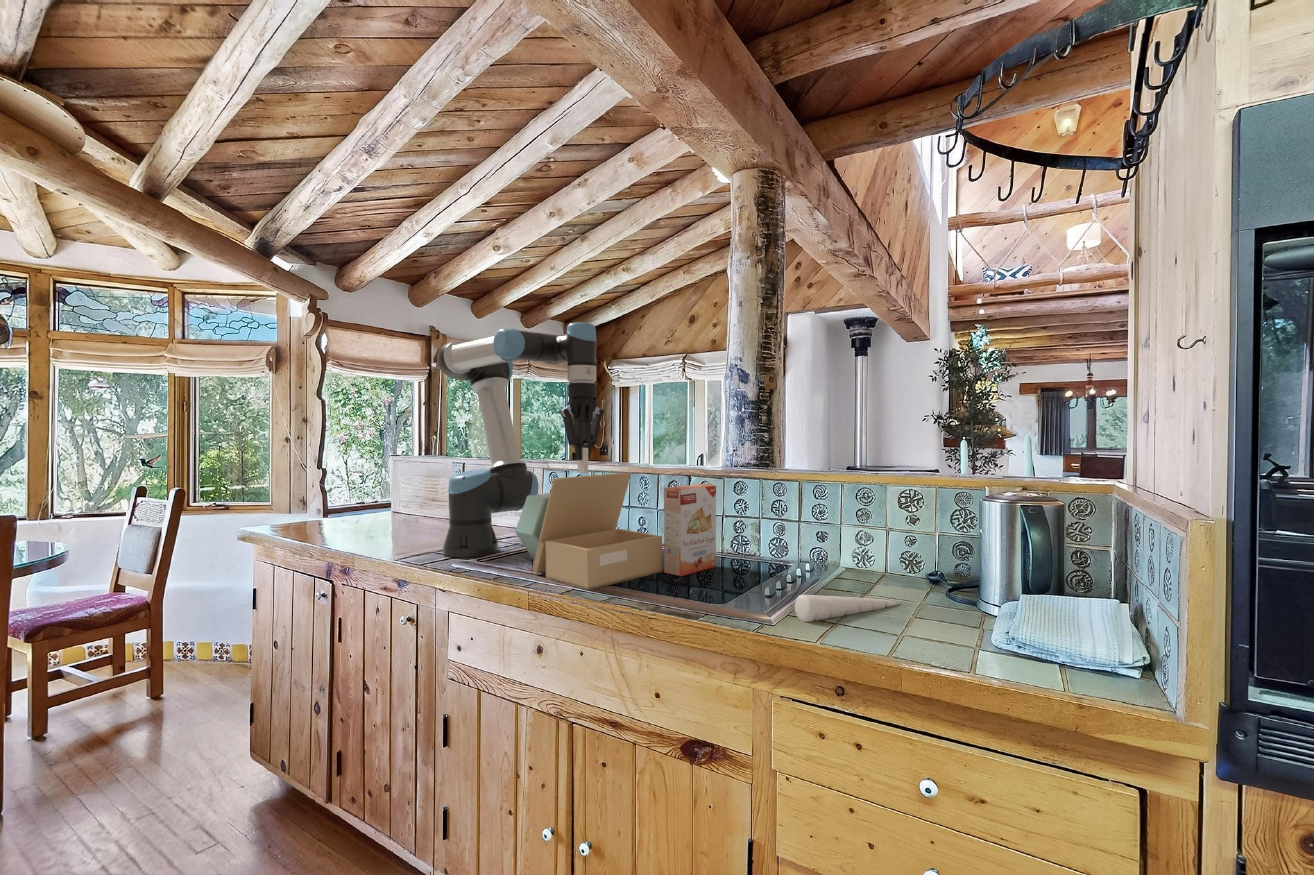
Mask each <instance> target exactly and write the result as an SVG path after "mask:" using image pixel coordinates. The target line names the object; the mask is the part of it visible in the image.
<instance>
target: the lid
mask: <svg viewBox="0 0 1314 875" xmlns="http://www.w3.org/2000/svg"><path fill="white" fill-rule="evenodd" d="M631 475H632V473H631V472H629V471H628V472H619V473H605V474H592V475H591V474H589V475H580V476H578V475H577V476H568V477H555V478H553V480H552V484H551V488H550V492H549V493H550V496H549V500H548V504H547V508H546V513H545V517H544V521H543V525H542V529H541V534H540V538H539V542H538V546H537V551H536V555H535V559H533V564H532V568H531V570H532V571H533V572H534V573H535V574H536V575H537V574H543V573H546V543H545V541H548V540H554V539H560V538H566V537H572V536H578V535H584V534H590V533H597V532H603V531H609V530H615V529H617V527H618V526H617V525H618V522H619V519H620V516H621V512H622V507H623V505H624V502H625V501H624V500H625V496H626V494H627V490H628V486H629V483H630V479H631Z"/></svg>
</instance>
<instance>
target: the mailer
mask: <svg viewBox="0 0 1314 875" xmlns="http://www.w3.org/2000/svg"><path fill="white" fill-rule="evenodd" d="M545 543H546V572H545V578H546V579H549V580H551V579H553V580H552V581H554V580H555V581H556V582H558V581H560V582H559V583H561V582H563V583H562V584H564V583H565V584H564V585H568V584H569V585H568V586H571V587H575V588H579V589H581V590H585V591H591V590H594V589H600V588H602V587H601V586H604V587H607V586H611V585H615V584H619V583H624V582H628V581H631V580H635V579H639V578H643V577H648V576H653V575H656V574H659V573H663V536H662V535H659V534H654V533H653V534H652V533H646V532H640V531H634V530H630V529H622V528H616V529H615V530H609V531H603V532H597V533H590V534H584V535H578V536H572V537H566V538H560V539H554V540H548V541H545ZM555 581H554V582H555ZM599 587H600V588H599Z"/></svg>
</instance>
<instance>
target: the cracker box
mask: <svg viewBox="0 0 1314 875" xmlns="http://www.w3.org/2000/svg"><path fill="white" fill-rule="evenodd" d="M716 534H717V486H716V485H714V484H705V483H704V484H703V483H701V484H700V483H699V484H690V485H681V486H672V487H671V486H670V487H664V488H663V573H664V574H668V575H672V576H676V577H684V576H688V575H690V574H694V573H698V572H702V571H705V570H708V569H711V568H712V569H713V568H715V567H717V566H716V564H717V562H716V561H717V559H716V557H717V556H716V554H717V552H716V551H717V548H716V547H717V542H716V541H717V540H716V539H717V535H716Z"/></svg>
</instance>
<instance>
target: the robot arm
mask: <svg viewBox="0 0 1314 875" xmlns="http://www.w3.org/2000/svg"><path fill="white" fill-rule="evenodd" d="M597 342H598V341H597V332H596V327H595V325H594V324H593V323H590V322H580V321H579V322H577V321H576V322H571V323H570V322H569V324H568V325H567V328H566V333H563V334H552V333H551V334H550V333H544V332H533V331H526V330H520V329H516V328H515V329H514V328H501V329H499V330H497V332H496V333H495V334H494V335H493V336H489V337H484V338H479V339H475V340H470V341H467V342H464V341H460V340H459V341H458V340H457V341H456V340H455V341H451V342H448V343H445V344H444V345H442V346H441V348H439V350H438V352H437V355H436V362H437V366H438V369H439V370H440V371H441V372H442V373H443V375H445V376H447V377H448V378H451V379H453V380H458V381H468V382H469V383H470V387H471V390H472V391H473V392H474V393H476V394H477V398H478V403H479V406H480V412H481V417H482V421H483V428H484V431H485V432H484V434H485V438H486V441H487V448H488V452H489V454H488V455H489V458H490V462H491V466H490V467H489V468H488V469H475V470H474V469H473V470H472V469H471V470H465V471H462V472H459V473H455V474H453V475H451V476H450V478H449V479H448V480H449V481H448V489H447V493H448V511H449V512H448V516H449V517H448V520H449V522H448V523H449V524H448V526H449V527H448V530H447V533H446V537H445V539H444V544H443V546H442V554H443V556H445V557H450V558H475V557H477V558H478V557H483V556H488V555H492V554H495V553H497V552H498V551H499V542H498V538H497V536H496V534H495V530H494V528H493V523H492V514H496V513H497V514H498V513H506V512H513V511H515V512H518V511H522V510H523V507H524V504H525V501H526V498H527V496H528V495H537V494H539V480H538V477H537V475H536V474H535V473H534V472H533V471H530V470H528V467H527V463H526V462H525V461H523V460H522V459H521V458H520V453H519V449H518V444H517V439H516V434H515V429H514V424H513V419H512V415H511V410H510V406H509V401H508V394H507V391H506V388H507V387H508V385H509V382H510V380H511V379H512V376H513V374H514V372H513V370H514V363H513V362H514V361H515V362H516V361H531V362H541V363H544V364H546V365H558V364H563V363H567V381H568V382H569V383H568V384H567V397H568V401H567V405H566V406H565V407H564V408H560V409H559V413H560V415H561V417H562V420H563V424H564V429H565V430H564V431H565V434H566V439H567V444H568V445H569V446H572V447H573V448H574V451H575V452H574V453H575V454H574V456H575V461H577V473H578V474H579V473H580V474H589V461H590V459H591V448H593V447H594V446H596V445H597V443H598V438H599V432H600V429H601V428H600V427H601V424H602V423H601V422H602V418H603V415H604V413H605V410H604V409H601V408H599V407H598V404H597V400H596V398H597V396H598V395H597V391H598V390H597V384H596V382H597Z"/></svg>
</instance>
